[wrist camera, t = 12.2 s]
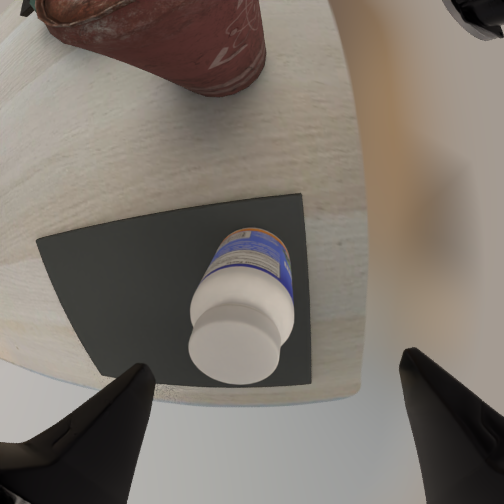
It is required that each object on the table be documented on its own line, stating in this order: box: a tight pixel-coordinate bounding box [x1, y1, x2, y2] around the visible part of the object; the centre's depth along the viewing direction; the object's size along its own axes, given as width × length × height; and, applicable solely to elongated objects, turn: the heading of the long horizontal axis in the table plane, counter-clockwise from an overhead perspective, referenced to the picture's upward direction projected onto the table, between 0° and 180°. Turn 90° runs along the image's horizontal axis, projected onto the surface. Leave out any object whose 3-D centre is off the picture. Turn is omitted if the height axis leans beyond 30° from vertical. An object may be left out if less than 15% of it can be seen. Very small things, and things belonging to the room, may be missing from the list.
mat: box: [36, 193, 311, 388], centre depth 23 cm, size 26×19×1 cm
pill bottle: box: [188, 228, 294, 385], centre depth 15 cm, size 5×5×10 cm
